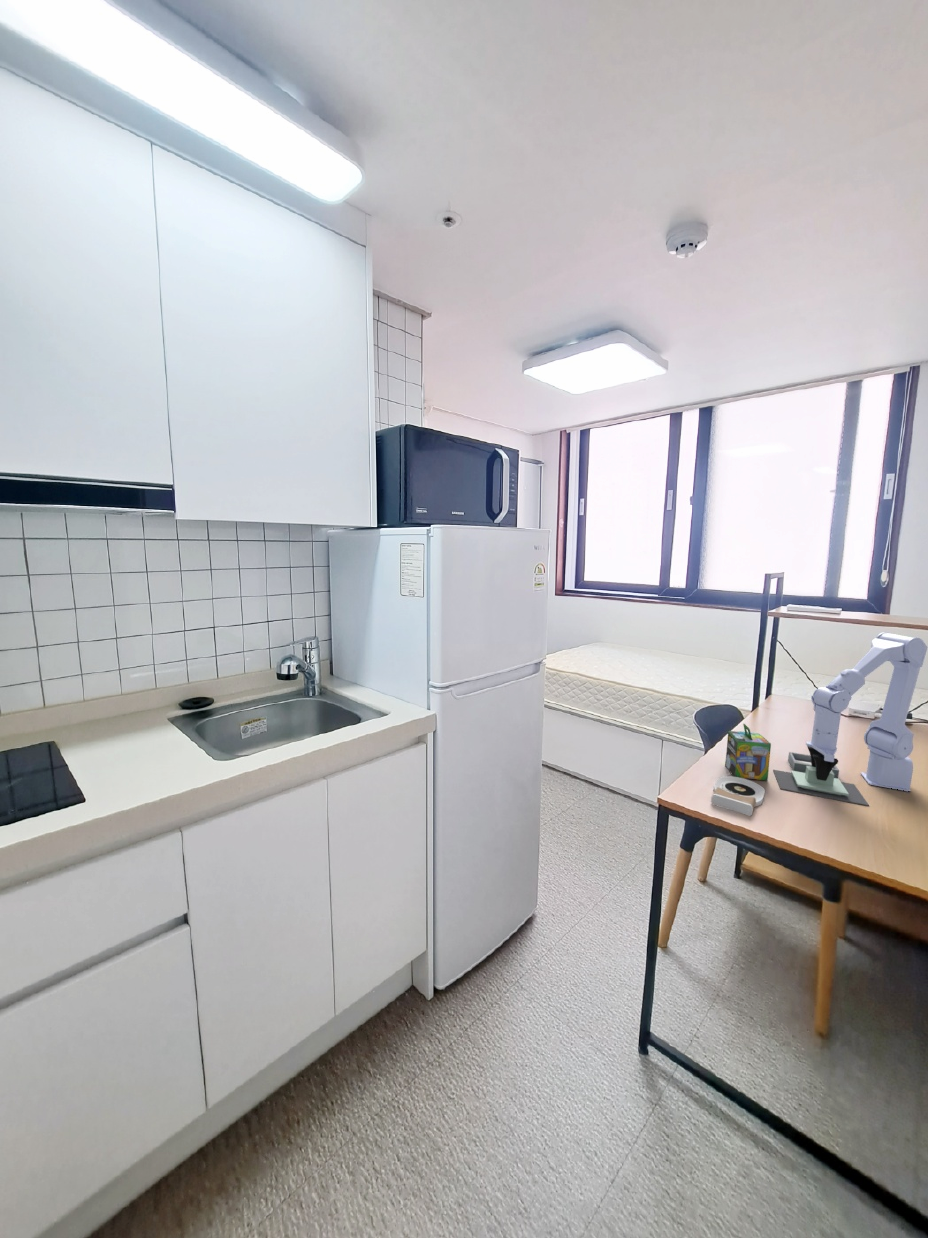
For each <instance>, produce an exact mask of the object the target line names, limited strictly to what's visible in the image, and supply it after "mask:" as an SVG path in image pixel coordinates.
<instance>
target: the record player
mask: <svg viewBox="0 0 928 1238" xmlns="http://www.w3.org/2000/svg"><path fill="white" fill-rule="evenodd" d="M765 792H766V791H765V788H764V787H763V786H761V785H760V784H758V783H757V782H754V781H753V780H751V779H746V778H739V777H734V776H733V775H731V776H729V775H725V776H720V777H718V778H717V779H716V781H715V783H714V784H713V795H712V796H711V798H710V799H711V800H710V802H711V805H713V804H715V805H714V806H717V805H718V806H717V807H721V808H723V809H727V810H729V811H733V812H736V813H739V814H742V815H746V816H748V817H749V816H750V817H752V815H753V812H754V809H755V807H758V806H760V805H762V803H763V801H764V798H765Z"/></svg>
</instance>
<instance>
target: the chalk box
mask: <svg viewBox="0 0 928 1238" xmlns="http://www.w3.org/2000/svg"><path fill="white" fill-rule="evenodd" d="M742 725H743V729H744V731H735V730H734V731H733V730H728V732H727V743H726V753H725V763H724V764H725V767H726V768H727V769H728V771H729V772H730V773H732V774H731V776H733V777H739V778H744V779H747V780H759V781H768V780H769V769H770V768H769V767H770V757H771V747H772V743H771V742H769V740H767V739H766V738H765V737H764V736H763V735H762V734H760V733H757V732H755V733H754V732H751V729H750V728H749V727H748V726H747V725H746V723H743V724H742Z"/></svg>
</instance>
